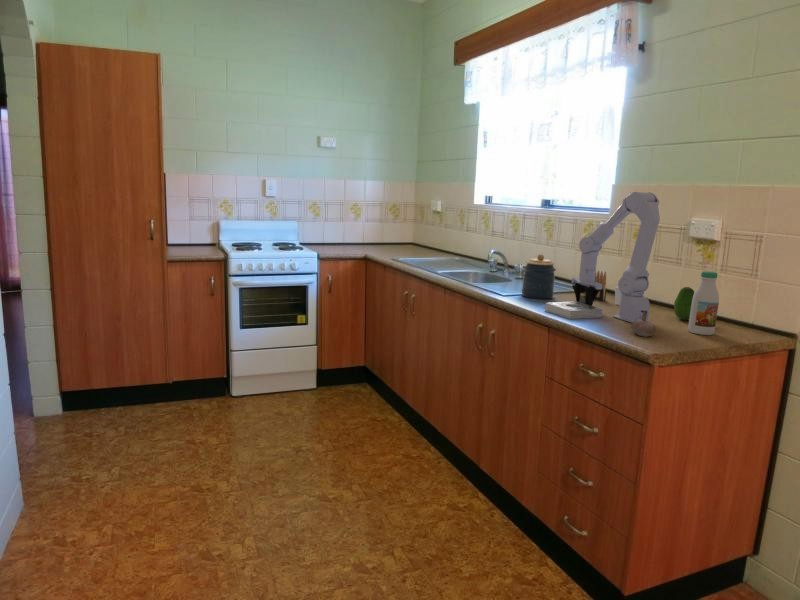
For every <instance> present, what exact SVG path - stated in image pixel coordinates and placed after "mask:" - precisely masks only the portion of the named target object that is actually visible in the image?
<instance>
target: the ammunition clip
mask: <svg viewBox="0 0 800 600" xmlns="http://www.w3.org/2000/svg"><path fill="white" fill-rule="evenodd" d="M595 282H597V283H600V284H602V289H600V291H599V293H598V294H597V295H596V297H595V299H594V301H595V300H596V301H600V302H606V298H607V297H606V296H607V272H606V271H604V273H603V270H602V271H601V272H600V271H599V270H597V271H596V273H595ZM586 285H587V284H586ZM586 288H589V287H588V286H587V287H586ZM585 292H586V291H585Z"/></svg>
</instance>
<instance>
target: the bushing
mask: <svg viewBox="0 0 800 600" xmlns="http://www.w3.org/2000/svg"><path fill="white" fill-rule="evenodd" d="M579 302H580V303H584V304H586V292H580V297H579Z"/></svg>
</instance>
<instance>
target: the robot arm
mask: <svg viewBox="0 0 800 600" xmlns="http://www.w3.org/2000/svg"><path fill="white" fill-rule="evenodd" d="M621 202H622V203H621V204H620V205H619V207H617V209H616V210H615V211H614V212H613V214H612V215H611V216H610V217H609V218H608V219H607V221H606V222H604V221H602V222H600V223H598V224H596V227H595V229H593V231H592V232H590V233H589V234H588V236H583V237H582V238H581V239H580V240H579V243H578V248H579V250H580V252H581V253H580V254H581V256H580V262H579V263H580V264H579V265H580V266H579V273H578V274H579V276H578V277H571V284H572V285H571V288H572V290H573V291H574V294H575V295H574V296H575V301H577V302H579V297H580V292H585V291H586V304H587V305H591V306H593V304H594V302H595V297H596V295H597V294H598V293H599V291H600V289H602V284H600V283H597V282H595V273H596V274H597V265H598V264H597V262H598V257H599V252H600V251H602V248H603V244H604V243H605V242H606V241H607V240H608V239H609V238H610V237H611V236H612V235H614V229H615V228H616V227H617V226H618V225H620V223H621V222H622V221H624V220H625V219H626V218H627V217H628V216H629V215H631V214H634V215H636V216H637V218H638V219H639V221H640V226H639V229H638V232H637V233H638V234H637V236H636V240H635V244H634V247H633V251H632V256H631V258H630V263H629V265H628V266H627V268H626V269H625V270H624V271H623V274H622V276H621V277H620V278H619V280H618V282H617V286H618V288H619V290H620V291H621V300H620V305H619V310H618V315H617V314H616V315H613V316H612V317H613V318H616V319H619V320H622V321H626V322H628V323H631V324H632V323H633V322H634V321H635V320H642V317H643V312H644V311H645V310H647V316H646V321H647V322H650V319H649V313H650V301H649V299H648V298H646V297H645V296H644V295H645V292H646V291H647V290H648V288H649V287H650V282H649V276H650V273H649V272H648V270H647V266H648V263H649V259H650V257H651V256H650V255H651V253H652V248H653V245H654V241H655V238H656V236H657V235H656V234H657V230H658V227H659V224H660V220H661V219H660V218H661V217H660V216H661V215H660V212H659V203H660V200H659V199H658V197H657V196H656V194H654V192H650V191H649V192H641V191H632V192H630V193H628V194H627V196H626V197H624V198H623V200H622V201H621ZM586 284H587V285H586ZM587 286H588V287H589V288H586V287H587Z"/></svg>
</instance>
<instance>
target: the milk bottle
mask: <svg viewBox="0 0 800 600" xmlns="http://www.w3.org/2000/svg"><path fill="white" fill-rule="evenodd" d="M700 276H701V277H700V283H699V285H697V287H696V288H695V290H694V295H693V299H692V305H691V312H690V319H689V320H688V327H687V330H688V332H689V333H692V334H695V335H702V336H713V335H714V334H715V330H716V325H717V319H718V312H719V306H720V305H719V303H720V295H719V291H718V288H717V284H716V282H717V280H718V273H717V272H716V271H708V270H705V271H701V274H700Z"/></svg>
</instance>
